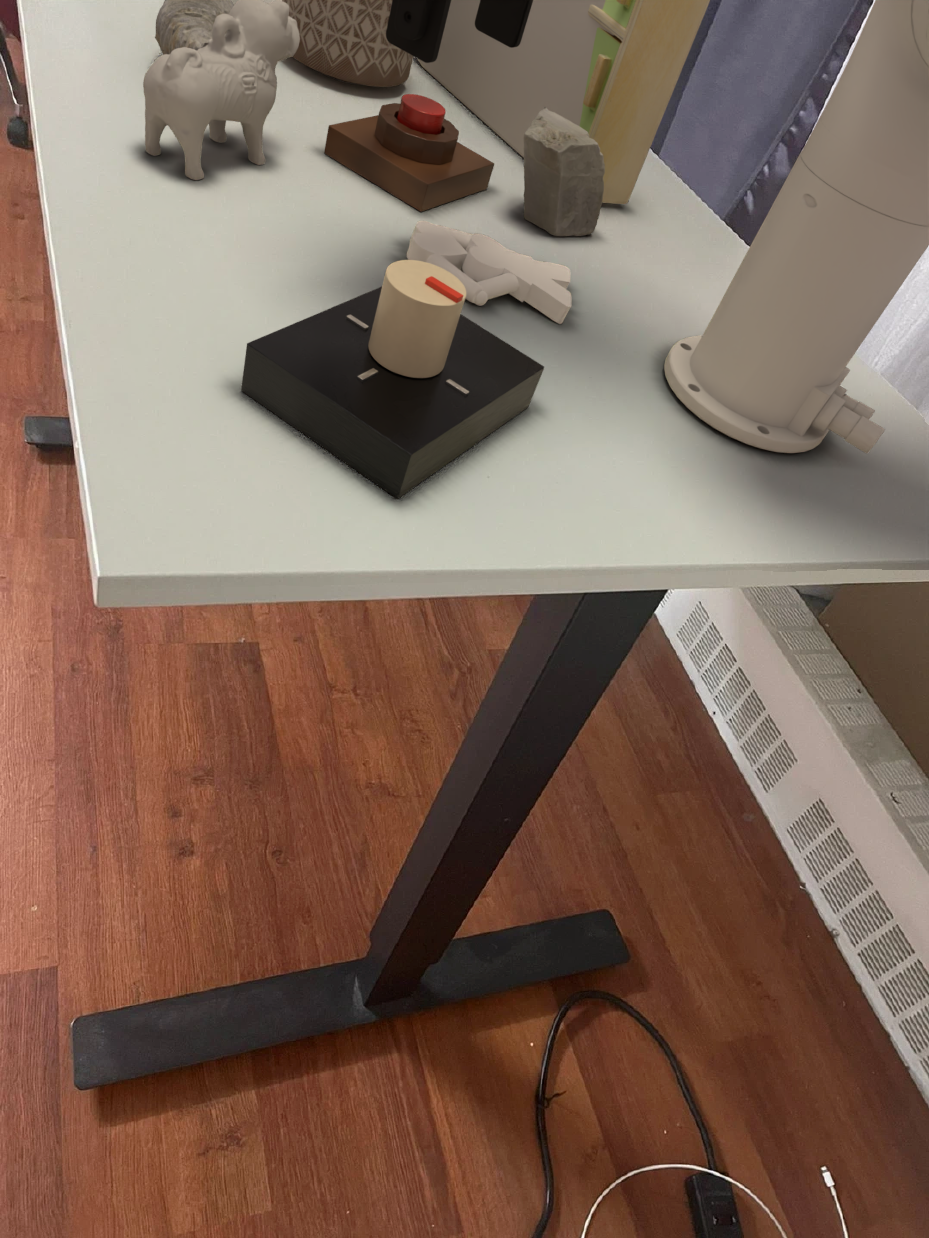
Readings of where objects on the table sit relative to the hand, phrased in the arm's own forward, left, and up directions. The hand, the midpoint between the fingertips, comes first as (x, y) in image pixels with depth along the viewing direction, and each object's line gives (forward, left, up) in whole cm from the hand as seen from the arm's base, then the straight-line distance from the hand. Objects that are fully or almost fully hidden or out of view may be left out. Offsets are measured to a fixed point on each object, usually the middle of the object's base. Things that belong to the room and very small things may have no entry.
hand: (455, 45), depth 53 cm
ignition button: (+10, -14, -11) cm, 20 cm away
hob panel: (-9, +13, -14) cm, 21 cm away
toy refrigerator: (+1, -30, -14) cm, 33 cm away
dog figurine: (+18, 0, -15) cm, 23 cm away
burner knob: (-9, +13, -11) cm, 19 cm away
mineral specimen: (-1, -19, -15) cm, 24 cm away
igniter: (+10, -14, -14) cm, 22 cm away
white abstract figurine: (-4, -5, -15) cm, 16 cm away
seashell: (+30, -10, -15) cm, 35 cm away
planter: (+27, -26, -15) cm, 40 cm away
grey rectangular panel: (+13, -35, -15) cm, 40 cm away
